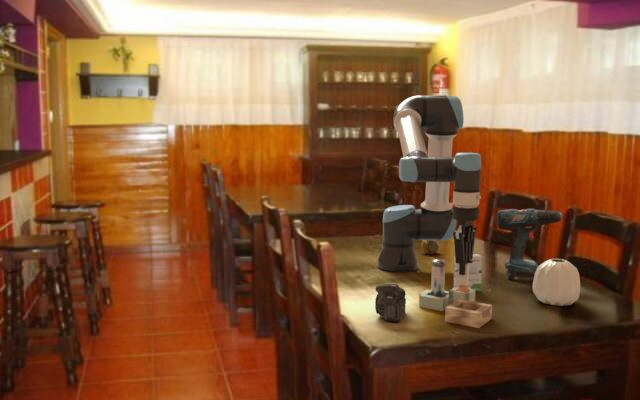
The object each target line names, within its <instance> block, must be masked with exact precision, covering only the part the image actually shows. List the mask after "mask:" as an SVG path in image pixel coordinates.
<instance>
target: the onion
mask: <svg viewBox="0 0 640 400" xmlns="http://www.w3.org/2000/svg"><path fill="white" fill-rule="evenodd" d="M420 247H421V249H422V251H423V252H424V253H426V254H430V255H434V254H436V253H437V252H439V250H440V244H439V241H437V240H421V245H420Z"/></svg>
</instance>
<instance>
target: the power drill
mask: <svg viewBox="0 0 640 400" xmlns="http://www.w3.org/2000/svg"><path fill="white" fill-rule="evenodd" d="M564 217H566V216H565V215H564V214H562V212H560V211H558V210H547V209H535V208H526V209H525V208H523V209H520V210H519V209H517V208H509V209H500V210H497V213H496V225H497V226H498V227H497V228H498V229H500V230H505V231H510V232H511V233H512V240H511V245H510V254H509V255H510V256H509V261H507V262H505V263H504V267H505V269H506V272H505V275H506V278H507V280H509V281H511V280H513V281H527V282H529V281H531V282H533V280H534V276H535V272H536V270H537V268H538V266H539V265H538V263H537V262H535V260H532V259H526V258H524V254H525V250H526V245H527V242H528V241H529V240H530V241H531V240H534V239H535V237H534V232H536V231H538V229H539V226H545V225H546V226H547V225H550V224H556V223H559V222H561V221H562V219H563V218H564Z"/></svg>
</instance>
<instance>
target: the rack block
mask: <svg viewBox="0 0 640 400" xmlns="http://www.w3.org/2000/svg"><path fill="white" fill-rule="evenodd" d="M492 318H493V305H492V304H489V303H482V302H478V301H475V302H472V301H467V300H461V299H458V300H457V301H455V302H453V303H452V304H450V305H449V306H447V307H445V310H444V322H446V323H452V324H457V325H461V326H467V327H470V328H476V329H480V328H481V327H483V326H484V325H485V324H487V323H488V322H489V321H490V320H492Z"/></svg>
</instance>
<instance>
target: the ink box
mask: <svg viewBox="0 0 640 400" xmlns="http://www.w3.org/2000/svg"><path fill="white" fill-rule="evenodd" d="M453 258H454V259H453V261H454V262H453V288H454V287H456V286H458V269H459V263H455V261H456V260H455V253H454V255H453ZM470 261H473V262H472V263H469V285H468V288H470V289H476V291H475V292H482V285H483V283H482V281H483V278H482V277H483V257H482V255H481V254H479V253H473V258H472V260H471V259H470Z"/></svg>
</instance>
